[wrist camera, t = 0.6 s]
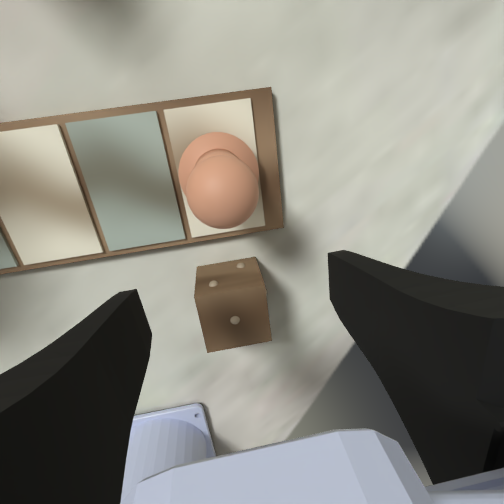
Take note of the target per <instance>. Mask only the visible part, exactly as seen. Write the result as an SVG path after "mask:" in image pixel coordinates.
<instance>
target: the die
mask: <svg viewBox="0 0 504 504" xmlns="http://www.w3.org/2000/svg"><path fill="white" fill-rule="evenodd" d="M266 294H267V289H266V288H265V284H264V281H263V278H262V275H261V272H260V269H259V266H258V263H257V260H256V257H251V258H245V259H240V260H234V261H228V262H222V263H216V264H210V265H204V266H198V267H197V271H196V283H195V294H194V298H195V302H196V307H197V311H198V315H199V319H200V324H201V328H202V332H203V336H204V340H205V345H206V349H207V353H209V352H215V351H220V350H225V349H231V348H236V347H241V346H247V345H252V344H257V343H263V342H268V341H272V338H271V330H270V322H269V314H268V306H267V298H266Z"/></svg>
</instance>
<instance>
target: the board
mask: <svg viewBox="0 0 504 504" xmlns="http://www.w3.org/2000/svg"><path fill="white" fill-rule="evenodd" d="M211 132H224V133H228V134H231V135H234V136H236V137H238V138H239V139H241V140H242V141H243V142H245V143H246V144H247V145H248V146H249V148H250V149H251V150H252V152H253V153H254V155H255V157H256V160H257V163H258V168H259V181H258V187H259V198H258V203H257V206H256V208H255V210H254V212H253V214H252V215H251V216H250V217H249V218H248V219H247V220H246V221H245V222H244V223H242V224H240V225H239V226H236V227H233V228H229V229H217V228H213V227H210V226H207V225H205V224H204V223H202V222H201V221H200V220H198V219H197V218H196V217H195V215H194V214H193V213H192V211H191V209H190V207H189V205H188V202H187V198H186V196H185V194H184V192H183V190H182V188H181V185H180V182H179V174H178V170H179V163H180V159H181V157H182V154H183V153H184V151H185V149H186V148H187V147H188V145H189V144H190V143H191V142H192V141H193V140H195V139H196V138H198V137H199V136H201V135H204V134H206V133H211ZM278 228H284V225H283V214H282V203H281V191H280V180H279V169H278V158H277V147H276V135H275V124H274V113H273V102H272V90H271V87H267V88H260V89H252V90H245V91H237V92H230V93H222V94H215V95H207V96H200V97H192V98H185V99H177V100H170V101H162V102H155V103H147V104H140V105H132V106H125V107H117V108H110V109H102V110H95V111H87V112H79V113H72V114H64V115H57V116H49V117H42V118H34V119H27V120H19V121H12V122H4V123H0V274H5V273H11V272H17V271H23V270H30V269H36V268H42V267H48V266H54V265H60V264H66V263H72V262H78V261H84V260H90V259H96V258H102V257H108V256H114V255H120V254H127V253H133V252H139V251H145V250H151V249H157V248H163V247H169V246H175V245H181V244H187V243H193V242H199V241H205V240H211V239H217V238H223V237H230V236H236V235H242V234H248V233H254V232H260V231H266V230H272V229H278Z"/></svg>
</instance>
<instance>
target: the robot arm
mask: <svg viewBox="0 0 504 504" xmlns="http://www.w3.org/2000/svg"><path fill="white" fill-rule="evenodd" d="M328 270H329V291H330V300H331V302H332V304H333V306H334V309H335V311H336V313H337V315H338V316H339V318H340V320H341V322H342V323H343V325H344V326H345V328H346V329H347V331H348V332H349V333H350V335H351V336H352V338H353V339H354V341H355V342H356V343H357V345H358V346H359V348H360V349H361V351H362V352H363V353H364V355H365V356H366V358H367V359H368V361H369V362H370V363H371V365H372V366H373V368H374V370H375V371H376V373H377V375H378V376H379V378H380V380H381V382H382V383H383V385H384V387H385V389H386V391H387V392H388V394H389V396H390V398H391V400H392V402H393V404H394V405H395V408H396V409H397V411H398V413H399V415H400V417H401V419H402V421H403V423H404V425H405V427H406V429H407V431H408V433H409V435H410V437H411V439H412V441H413V443H414V445H415V447H416V449H417V451H418V453H419V455H420V457H421V460H422V461H423V463H424V466H425V468H426V470H427V472H428V474H429V477H430V479H431V481H432V483H433V485H430V486H426V487H424V485H423V484H422V482H421V480H420V479H419V477H418V475H417V473H416V472H415V470H414V469H413V467H412V465H411V463H410V462H409V460H408V458H407V457H406V455H405V453H404V452H403V450H402V448H401V446H400V445H399V443H398V442H397V441H395V440H393V439H391V438H389V437H387V436H385V435H383V434H381V433H379V432H376V431H374V430H371V429H367V428H363V429H362V428H361V429H336V430H331V431H326V432H322V433H318V434H313V435H309V436H304V437H300V438H295V439H291V440H286V441H282V442H277V443H273V444H268V445H264V446H260V447H255V448H251V449H246V450H242V451H237V452H233V453H229V454H224V455H220V456H216V453H215V450H214V446H213V442H212V439H211V435H210V431H209V428H208V424H207V420H206V417H205V413H204V409H203V406H202V405H201V404H199V403H195V404H190V405H185V406H180V407H175V408H170V409H165V410H160V411H155V412H150V413H145V414H140V415H136V416H134V414H135V410H136V406H137V403H138V399H139V395H140V392H141V388H142V384H143V381H144V377H145V373H146V369H147V366H148V362H149V357H150V349H151V340H152V332H151V329H150V326H149V324H148V321H147V318H146V315H145V312H144V309H143V306H142V303H141V300H140V297H139V295H138V292H137V289H134V290H129V291H123V292H119V293H118V294H116V295H114V296H113V297H111V298H110V299H109V300H107V301H106V302H105V303H104V304H102V305H101V306H100V307H99V308H97V309H96V310H95V311H94V312H92V313H91V314H90V315H88V316H87V317H86V318H85V319H83V320H82V321H81V322H80V323H78V324H77V325H76V326H74V327H73V328H72V329H70V330H69V331H68V332H66V333H65V334H63V335H62V336H61V337H59V338H58V339H57V340H55V341H54V342H53V343H51V344H50V345H48V346H47V347H45V348H44V349H42V350H41V351H39V352H38V353H36V354H34V355H33V356H31V357H30V358H28V359H26V360H25V361H23V362H22V363H20V364H18V365H17V366H15V367H13V368H11V369H9V370H8V371H6V372H4V373H2V374H0V504H504V287H500V286H489V285H481V284H473V283H466V282H459V281H453V280H448V279H443V278H438V277H433V276H428V275H424V274H419V273H416V272H412V271H409V270H405V269H402V268H398V267H395V266H392V265H389V264H386V263H383V262H380V261H377V260H374V259H371V258H368V257H365V256H362V255H359V254H356V253H353V252H350V251H346V250H341V251H336V252H331V253H328ZM197 413H199V414H197Z"/></svg>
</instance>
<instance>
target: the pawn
mask: <svg viewBox="0 0 504 504" xmlns="http://www.w3.org/2000/svg"><path fill="white" fill-rule="evenodd" d="M178 174H179V182H180V185H181V188H182V190H183V192H184V194H185V196H186V198H187V202H188V205H189V207H190V209H191V211H192V213H193V214H194V215H195V217H196V218H197V219H198V220H200V221H201V222H202V223H204V224H205V225H207V226H210V227H213V228H217V229H229V228H233V227H236V226H239V225H240V224H242V223H244V222H245V221H246V220H247V219H248V218H249V217H250V216H251V215H252V214H253V212H254V210H255V208H256V206H257V203H258V198H259V187H258V181H259V168H258V163H257V160H256V157H255V155H254V153H253V152H252V150H251V149H250V148H249V146H248V145H247V144H246V143H245V142H243V141H242V140H241V139H239V138H238V137H236V136H234V135H231V134H228V133H224V132H211V133H206V134H204V135H201V136H199V137H198V138H196V139H195V140H193V141H192V142H191V143H190V144H189V145H188V147H187V148H186V149H185V151H184V153H183V154H182V157H181V159H180V163H179V170H178Z"/></svg>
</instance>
